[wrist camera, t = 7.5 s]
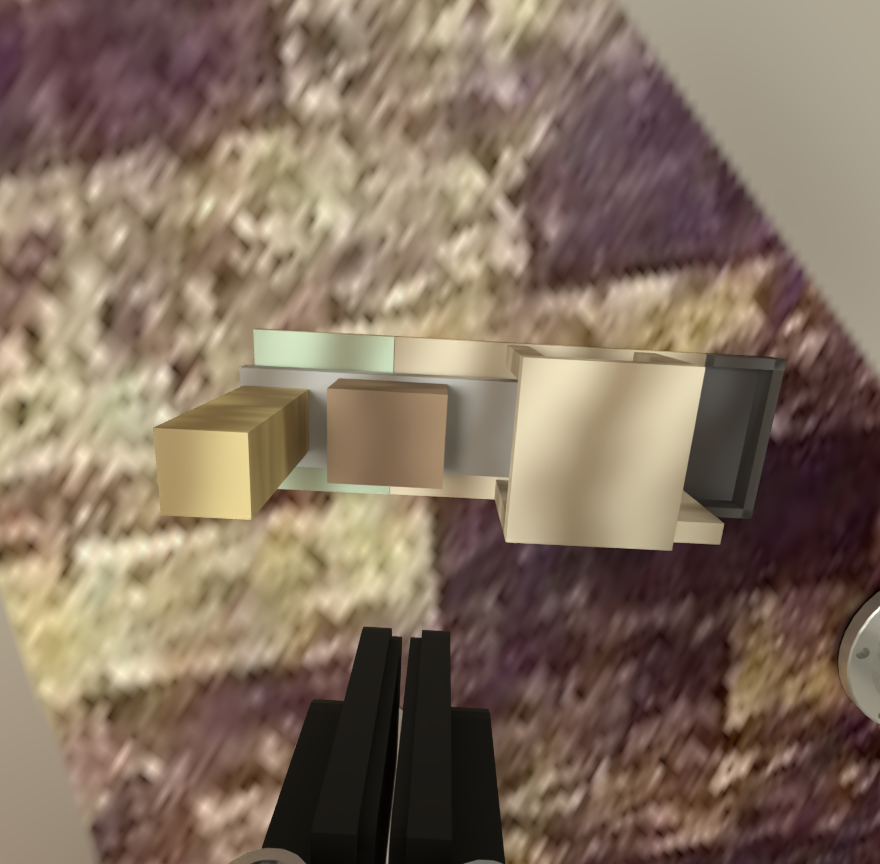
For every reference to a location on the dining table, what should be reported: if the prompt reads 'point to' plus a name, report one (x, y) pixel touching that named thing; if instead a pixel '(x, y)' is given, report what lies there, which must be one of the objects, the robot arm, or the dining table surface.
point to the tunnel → (584, 433)
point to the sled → (331, 435)
